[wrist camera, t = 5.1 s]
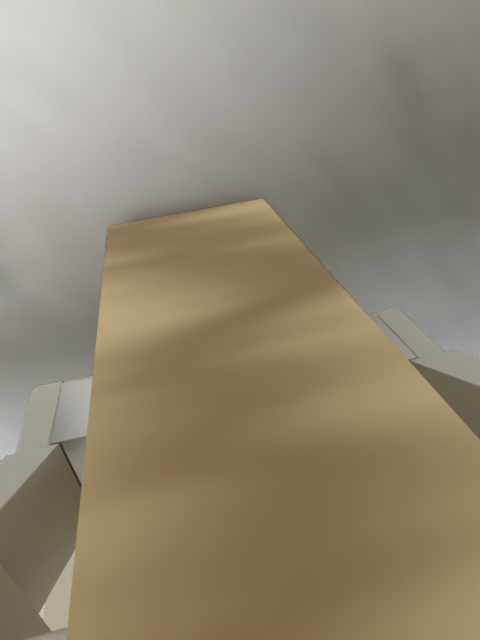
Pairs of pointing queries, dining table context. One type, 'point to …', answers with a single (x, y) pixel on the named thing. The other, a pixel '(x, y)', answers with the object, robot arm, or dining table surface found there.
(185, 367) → the peg
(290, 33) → the dining table surface
